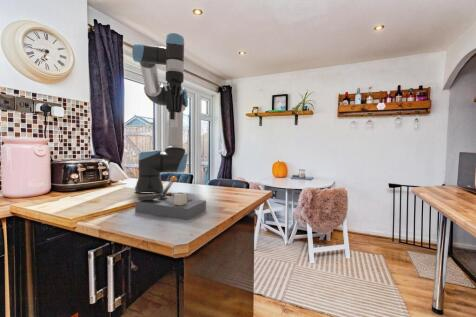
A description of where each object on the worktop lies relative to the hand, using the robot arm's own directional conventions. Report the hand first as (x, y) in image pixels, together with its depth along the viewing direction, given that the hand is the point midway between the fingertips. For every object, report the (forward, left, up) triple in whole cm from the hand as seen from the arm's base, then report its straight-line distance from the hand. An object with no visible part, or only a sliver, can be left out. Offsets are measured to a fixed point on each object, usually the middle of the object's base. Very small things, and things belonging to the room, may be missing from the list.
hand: (173, 127), depth 104 cm
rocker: (+12, -3, -29) cm, 31 cm away
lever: (+6, -1, -29) cm, 30 cm away
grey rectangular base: (+8, +5, -34) cm, 36 cm away
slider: (+11, +11, -30) cm, 34 cm away
